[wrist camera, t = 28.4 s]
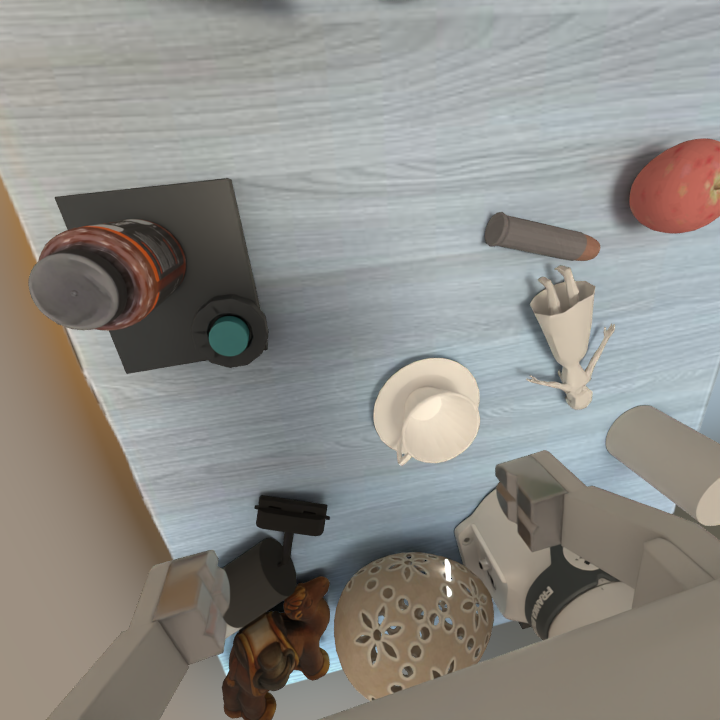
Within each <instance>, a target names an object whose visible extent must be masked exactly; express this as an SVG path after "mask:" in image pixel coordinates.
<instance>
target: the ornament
mask: <svg viewBox="0 0 720 720" xmlns="http://www.w3.org/2000/svg"><path fill="white" fill-rule="evenodd" d="M429 555H432V556H429ZM408 556H411V558H410V559H407V558H406V557H408ZM378 560H379V561H378ZM425 560H428V561H425ZM445 560H448V562H449V564H450V573H449V574H450V575H451V576H452V579H453V580H451V581H448V580H446V573H448V572H447V570H446V567H445ZM443 562H444V564H443ZM411 563H412V565H411ZM393 565H395V566H394V567H392V568H391V569H389V568H390V567H391V566H393ZM414 566H416V567H414ZM378 567H379V568H380V569H379V568H378ZM420 571H424V572H426V575H425V574H423V573H421V572H420ZM356 574H357V576H355V575H356ZM356 574H355V575H354V576H353V577H352V578H351V579H350V581H349V582H348V583H347V585H346V586H345V588H344V590H343V591H342V593H341V596H340V599H339V602H338V604H337V607H336V613H335V619H334V637H335V645H336V652H337V654H338V657H339V660H340V663H341V666H342V669H343V671H344V672H345V674H346V676H347V678H348V680H349V681H350V682H351V684H352V685H353V686H354V687H355V688H356V690H357V691H358V692H359V693H361V694H362V695H363V696H364V697H365V698H367V699H368V700H369V701H372V700H375V699H378V698H381V697H384V696H387V695H389V694H392V693H395V692H398V691H401V690H404V689H406V688H409V687H412V686H415V685H418V684H421V683H423V682H426V681H429V680H432V679H435V678H438V677H440V676H443V675H446V674H449V673H452V672H455V671H457V670H460V669H463V668H466V667H469V666H472V665H475V664H477V663H478V662H479V660H480V658H481V657H482V655H483V653H484V651H485V649H486V647H487V644H488V642H489V639H490V636H491V631H492V627H493V622H494V610H493V603H492V598H491V595H490V593H489V591H488V589H487V587H486V586H485V585H484V583H483V581H482V580H481V579H480V578H479V577H478V576H477V575H476V574H475V573H474V572H472V571H471V570H470V569H468V568H467V567H465V566H463V565H462V564H460V563H458V562H456V561H453V560H451V559H448V558H446V557H443V556H437V555H433V554H427V553H421V552H409V553H398V554H393V555H388V556H385V557H382V558H380V559H377V560H375V561H372V562H371V563H369V564H368V565H366V566H365V567H363V568H361V569H360V570H359V571H358V572H357V573H356ZM472 586H473V587H474V590H475V591H473V588H472ZM447 587H449V589H450V590H451V596H449V597H448V594H447ZM466 587H467V588H468V589H469V590H470V592H471V593H470V592H468V590H467V588H466ZM442 590H443V591H442ZM484 596H485V597H486V599H485V598H484ZM404 599H406V600H407V601H408V604H409V606H407V605H405V603H404ZM440 600H441V602H440V603H439V601H440ZM445 604H447V608H444V606H445ZM476 604H479V607H477V606H476ZM438 605H440V606H441V607H442V611H441V610H440V609H439V606H438ZM401 609H403V610H401ZM423 611H424V616H423V615H421V612H423ZM476 611H478V614H477V613H476ZM381 615H383V616H384V617H385V618H384V620H383V622H382V623H381V625H380V624H379V623H378V616H381ZM437 615H438V617H439V623H438V624H437V625H434V619H435V618H436V616H437ZM445 618H450V619H451V620H452V625H451V624H449V623H447V622H446V620H445ZM391 626H397V627H396V628H395V629H391V628H390V627H391ZM401 627H402V628H401ZM385 631H387V632H388V634H389V635H388V634H384V633H385ZM420 631H421V634H422V636H421V637H420ZM381 633H382V637H381ZM362 635H364V636H362ZM459 636H461V637H463V639H461V640H459V639H458V637H459ZM376 646H377V651H378V653H376V650H375V647H376ZM468 646H469V647H471V648H472V649H471V650H468ZM479 648H480V652H479V653H478V651H479ZM413 656H414V657H415V658H414V657H413ZM475 657H477V658H475ZM373 661H376V662H375V663H374V664H372V663H373ZM449 667H450V669H449ZM403 668H404V669H405V670H406V671H407V672H408V675H404V674H403V673H402V670H403ZM412 669H413V670H412ZM448 669H449V671H448ZM411 675H412V676H411ZM410 676H411V677H410ZM395 685H400V686H395Z"/></svg>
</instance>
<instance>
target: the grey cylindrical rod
mask: <svg viewBox="0 0 720 720" xmlns="http://www.w3.org/2000/svg"><path fill="white" fill-rule="evenodd" d="M485 240H486V243H487V244H488V245H489V246H501V247H506V248H511V249H516V250H521V251H526V252H531V253H536V254H541V255H545V256H550V257H555V258H560V259H565V260H572V261H573V260H577V261H587V260H591V259H593V258H595V257H596V256H597V255H598V253H599V251H600V244H599V242H598V241H597V240H595V239H594V238H592V237H590V236H588V235H585V234H583V233H581V232H577V231H572V230H568V229H564V228H559V227H555V226H551V225H546V224H542V223H538V222H533V221H529V220H524V219H520V218H516V217H511V216H507V215H505V214H504V213H503V212H499V213H496V214H495V215H493V216H492V218H491V219H490V220H489V222H488V224H487V227H486V231H485Z"/></svg>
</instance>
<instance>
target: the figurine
mask: <svg viewBox="0 0 720 720" xmlns="http://www.w3.org/2000/svg"><path fill="white" fill-rule="evenodd" d="M329 585H330V582H329V580H328V579H327V578H326V577H323V576H320V577H317V578H314V579H312V580H310V581H308V582H306V583H299V584H298V585H297V586H296V589H295V591H294V593H293V594H292V595H290V596H289V597H288V598H286V599H285V600H284V604H283V605H284V611H285V613H279V612H278V611H274V612H273V611H269V612H265V613H264V614H262V615H261V616H259V617H258V618H256V619H255V620H253V621H252V622H250V623H249V624H247V625H246V626H244V627H243V628H241V629H240V630H239V632H238V633H237V634H236V636H235V637H234V641H233V647H232V650H231V653H230V658H229V672H228V674H227V676H226V678H225V679H224V681H223V686H222V691H223V700H224V712H225V714H226V715H227V716H229V717H230V718H239V717H242V718H243V719H244V720H272V718H273V716H274V713H275V710H276V701H275V698H274V697H273V695H272V694H271V693H269V692H268V691H269V690H271V691H276V690H279V689H281V688H283V687H284V686H285V684H286V683H287V681H288V679H289V675H290V674H291V673H292V672H293V670H299V671H302V673H303V674H304V675H305V676H306V677H307V678H308V679H310V680H317V679H319V678H320V677H322V676H324V675H325V674H326V673H327V671H328V669H329V665H330V662H329V656H328V653H327V652H326V651H325V650H323V649H322V648H320V647H319V641H320V637H321V636H322V634H323V633H324V631H325V630H326V628H327V625H328V623H329V619H330V609H329V606H328V604H327V602H326V601H325V599H324V598H323V597H324V595H325V594H326V593H327V592H328V589H329Z"/></svg>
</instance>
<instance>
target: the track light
mask: <svg viewBox="0 0 720 720" xmlns="http://www.w3.org/2000/svg"><path fill="white" fill-rule="evenodd" d="M254 509H258V513H257V520H256V525H257V527H259V528H262V529H268V530H275V531H282V532H285V534H284V541H283V546H282V545H281V544H280V543H279V542H278V541H276V540H275V539H272V538H266V539H264V540H263V541H261V542H260V543H258V544H257V545H256V546H254V547H253V548H251V549H250V550H248V551H247V552H245V553H244V554H242V555H241V556H239V557H238V558H237V559H235V560H234V561H232V562H231V563H229V564H228V565H226V566H225V567H223V568H222V569H224V570H225V572H226V574H227V577H228V580H229V584H230V604H229V608H228V610H227V611H226V613H225V614H224V616H223V618H224V620H225V622H226V624H227V628H226V636H225V639H226V638H228V637H229V636H231V635H232V634H234V633H235V632H237V631H238V630H240V629H241V628H243V627H244V626H246V625H247V624H249V623H250V622H252V621H253V620H255V619H256V618H258V617H259V616H261V615H262V614H264V613H265V612H267V611H268V610H270V609H271V608H273V607H274V606H276V605H277V604H279V603H280V602H282V601H283V600H285V599H286V598H288V597H289V596H290V595H292V594H293V593H294V591H295V589H296V583H297V579H296V572H295V568H294V565H293V562H292V560H291V558H290V555H291V548H292V542H293V535H294V533H296V534H302V535H309V536H320V535H322V533H323V531H324V525H325V518H326V520H330V517H329V516H326V512H327V505H326V504H319V503H312V502H305V501H298V500H292V499H285V498H278V497H271V496H265V495H261V496H260V499H259V505H255V508H254Z"/></svg>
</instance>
